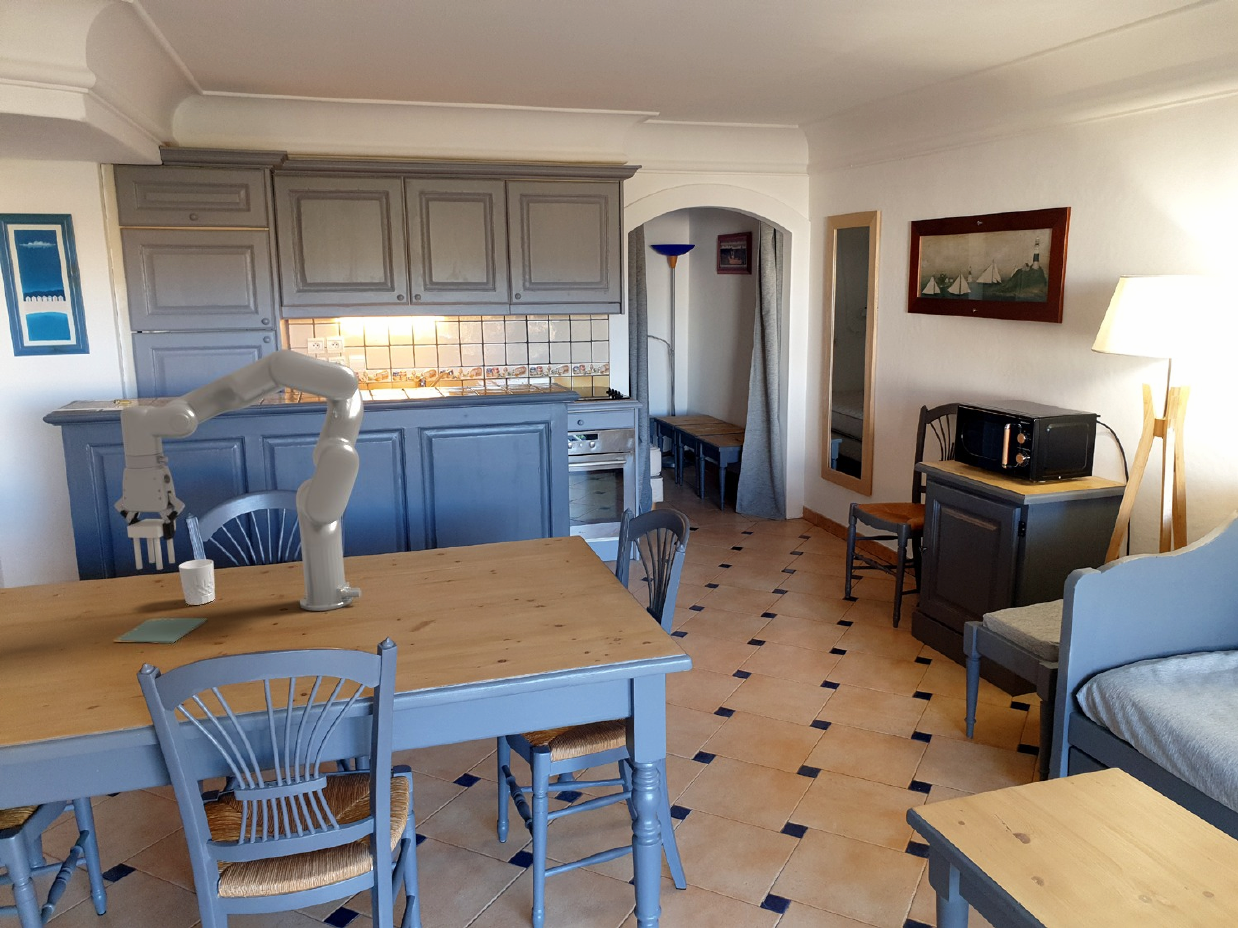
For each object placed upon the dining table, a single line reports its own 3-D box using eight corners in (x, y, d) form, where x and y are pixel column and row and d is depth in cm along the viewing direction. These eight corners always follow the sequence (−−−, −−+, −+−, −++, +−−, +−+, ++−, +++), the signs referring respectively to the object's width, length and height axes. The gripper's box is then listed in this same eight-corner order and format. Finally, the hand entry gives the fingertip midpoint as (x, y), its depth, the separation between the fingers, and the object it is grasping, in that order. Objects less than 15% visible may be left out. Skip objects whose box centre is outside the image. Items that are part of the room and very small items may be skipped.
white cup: (223, 596, 231) (219, 559, 229) (206, 607, 223) (202, 568, 221) (194, 596, 231) (189, 559, 230) (176, 607, 224) (172, 568, 222)
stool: (179, 561, 208) (175, 519, 206) (161, 570, 201) (157, 526, 199) (150, 560, 209) (146, 518, 207) (131, 569, 202) (127, 526, 200)
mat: (207, 620, 214) (206, 618, 214) (173, 643, 200) (173, 641, 200) (151, 619, 215) (150, 617, 215) (114, 642, 201) (113, 640, 201)
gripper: (191, 458, 203) (198, 534, 207) (118, 458, 205) (127, 533, 208) (172, 464, 196) (180, 543, 199) (96, 464, 197) (106, 542, 201)
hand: (153, 538), depth 204 cm, fingers closed on stool, 7 cm apart
